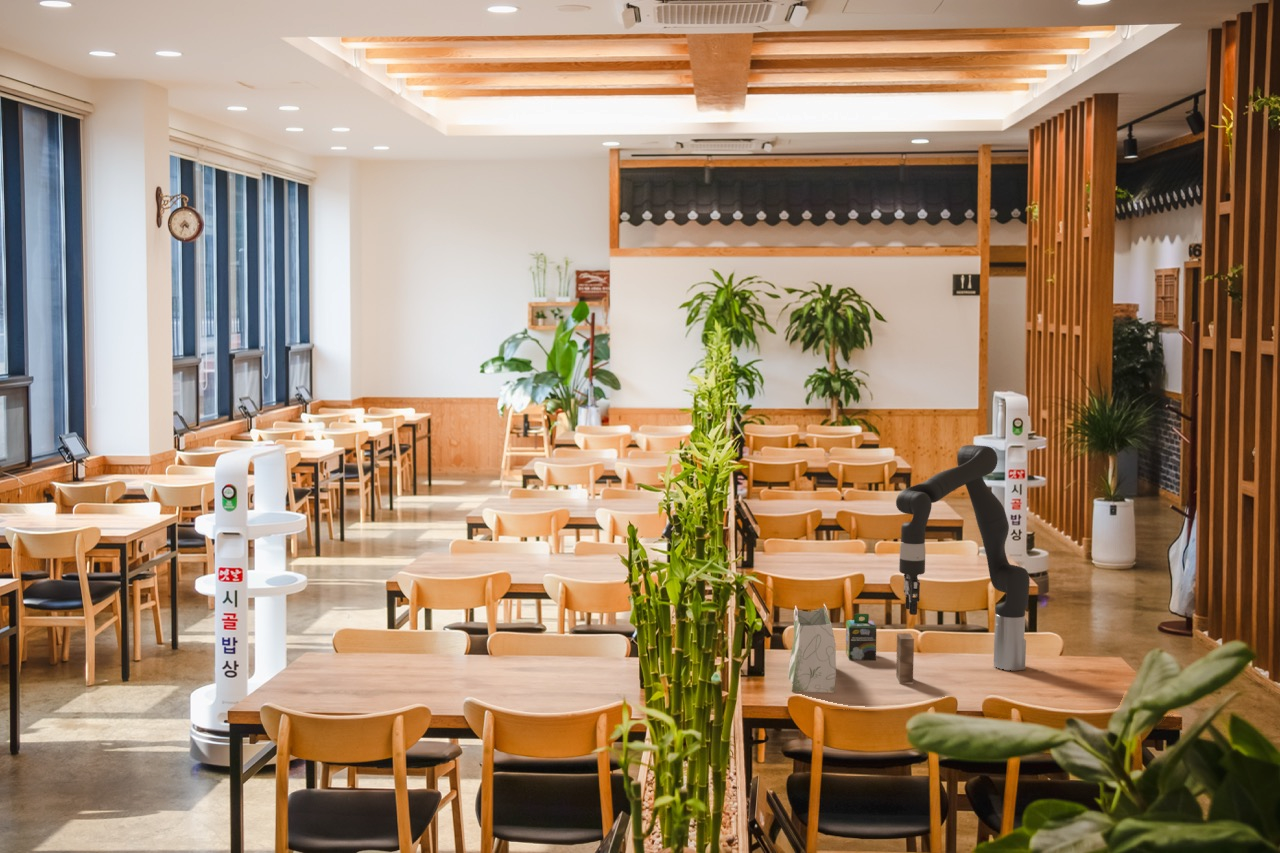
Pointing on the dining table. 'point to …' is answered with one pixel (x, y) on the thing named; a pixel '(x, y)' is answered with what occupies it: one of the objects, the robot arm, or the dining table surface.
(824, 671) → the grocery bag
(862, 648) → the chalk box
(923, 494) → the robot arm
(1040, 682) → the dining table surface
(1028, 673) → the dining table surface
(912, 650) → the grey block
